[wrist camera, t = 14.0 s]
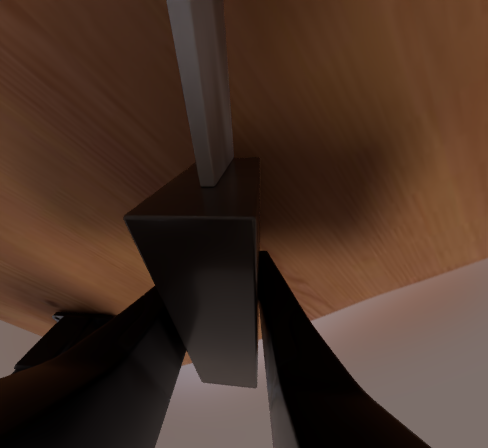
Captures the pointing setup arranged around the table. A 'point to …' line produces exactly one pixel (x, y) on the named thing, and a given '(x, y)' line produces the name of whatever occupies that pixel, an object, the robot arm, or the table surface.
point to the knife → (207, 214)
